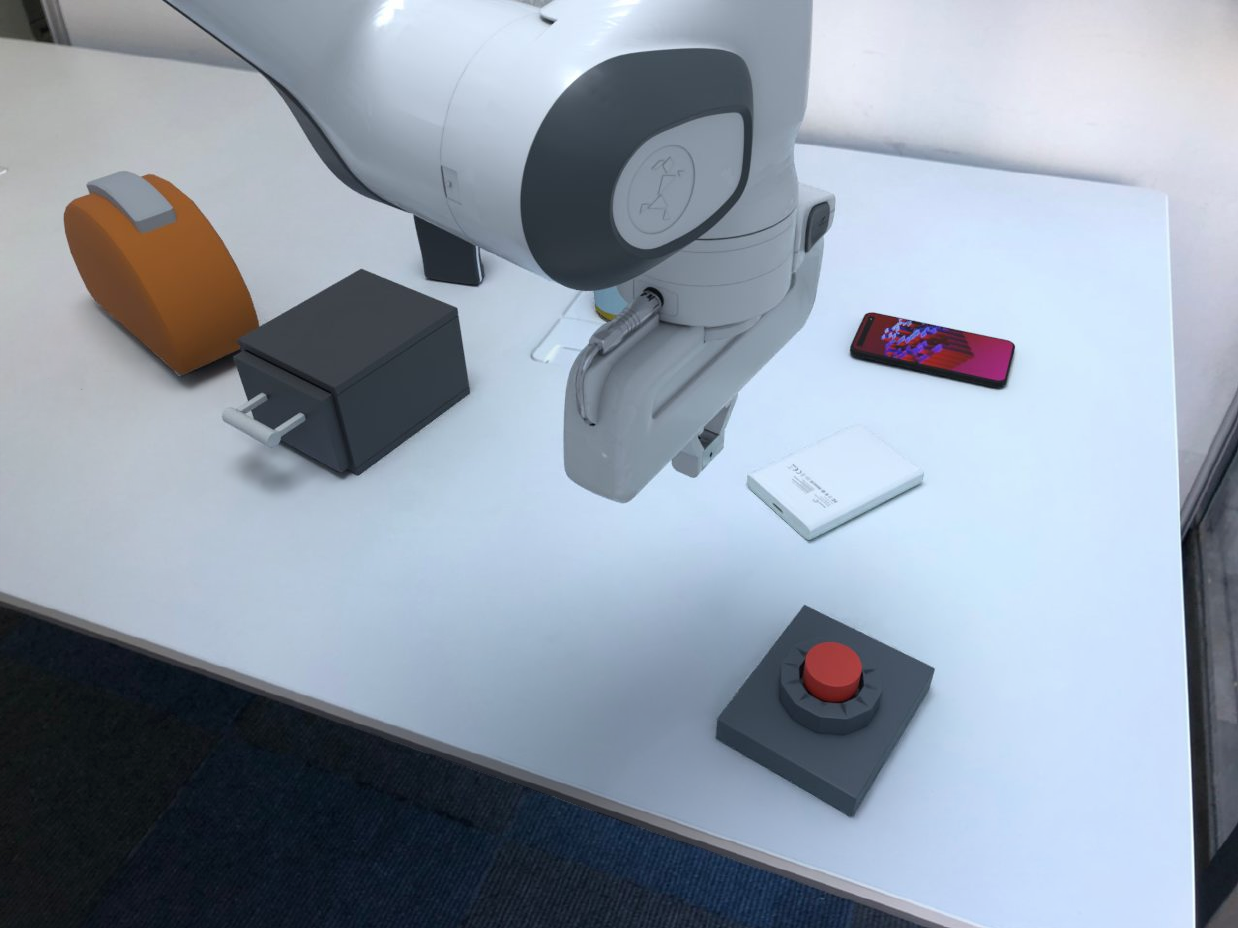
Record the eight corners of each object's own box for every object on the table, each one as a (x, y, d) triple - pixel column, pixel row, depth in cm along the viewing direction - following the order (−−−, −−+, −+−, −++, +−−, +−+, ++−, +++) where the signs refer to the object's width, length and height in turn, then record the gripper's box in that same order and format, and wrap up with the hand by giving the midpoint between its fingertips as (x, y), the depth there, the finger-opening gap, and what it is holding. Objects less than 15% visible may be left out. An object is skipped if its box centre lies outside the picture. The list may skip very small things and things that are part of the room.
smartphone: (1006, 384, 94) (848, 349, 99) (1004, 391, 95) (847, 356, 99) (1016, 341, 99) (866, 309, 104) (1014, 348, 100) (865, 317, 105)
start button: (842, 712, 64) (846, 695, 63) (793, 685, 66) (795, 668, 65) (867, 674, 66) (871, 657, 65) (818, 649, 68) (821, 633, 67)
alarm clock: (272, 356, 102) (226, 204, 91) (190, 394, 98) (131, 240, 87) (168, 275, 115) (117, 134, 104) (91, 306, 111) (29, 161, 100)
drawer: (303, 500, 84) (280, 428, 79) (218, 451, 90) (191, 380, 85) (448, 395, 95) (436, 325, 90) (365, 356, 100) (349, 288, 95)
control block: (852, 817, 62) (860, 782, 60) (715, 738, 67) (717, 702, 64) (929, 687, 70) (940, 651, 67) (801, 623, 74) (806, 587, 72)
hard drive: (921, 485, 85) (808, 543, 80) (855, 434, 91) (745, 486, 86) (925, 470, 84) (810, 528, 79) (858, 420, 90) (746, 471, 85)
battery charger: (492, 270, 114) (481, 176, 107) (479, 287, 111) (466, 192, 104) (436, 263, 116) (421, 169, 108) (422, 280, 113) (405, 184, 106)
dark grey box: (357, 475, 88) (334, 387, 82) (264, 425, 94) (236, 339, 88) (470, 392, 97) (457, 307, 90) (379, 351, 103) (361, 268, 96)
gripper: (635, 376, 42) (641, 596, 51) (851, 185, 54) (825, 390, 63) (518, 330, 45) (544, 546, 54) (748, 158, 57) (737, 358, 66)
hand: (697, 460), depth 58 cm, fingers closed
